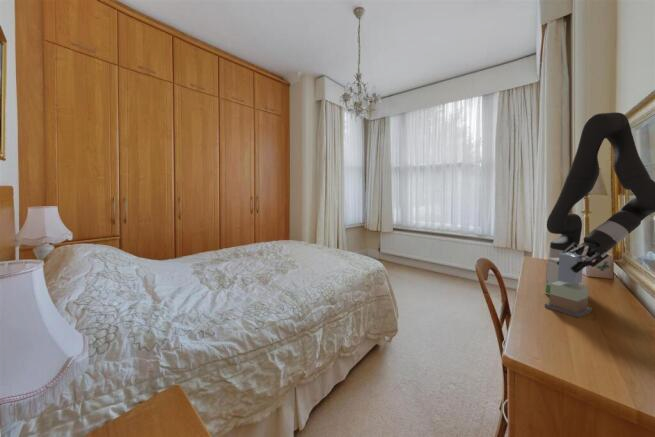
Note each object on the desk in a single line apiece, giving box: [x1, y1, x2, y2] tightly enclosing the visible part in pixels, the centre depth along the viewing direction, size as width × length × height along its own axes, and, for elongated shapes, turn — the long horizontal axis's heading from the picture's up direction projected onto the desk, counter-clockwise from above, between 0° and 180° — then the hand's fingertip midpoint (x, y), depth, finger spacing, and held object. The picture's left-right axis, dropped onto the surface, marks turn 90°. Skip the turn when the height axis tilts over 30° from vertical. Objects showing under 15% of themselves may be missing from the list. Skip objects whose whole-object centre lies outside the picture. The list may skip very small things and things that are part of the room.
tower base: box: [544, 281, 593, 319], centre depth 99 cm, size 10×10×9 cm
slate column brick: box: [558, 252, 583, 284], centre depth 97 cm, size 5×5×10 cm
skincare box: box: [544, 257, 559, 296], centre depth 109 cm, size 8×7×16 cm
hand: (565, 267), depth 98 cm, fingers closed on slate column brick, 6 cm apart
